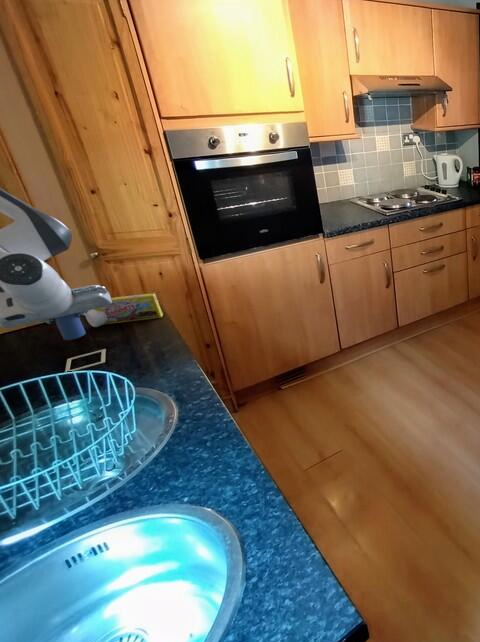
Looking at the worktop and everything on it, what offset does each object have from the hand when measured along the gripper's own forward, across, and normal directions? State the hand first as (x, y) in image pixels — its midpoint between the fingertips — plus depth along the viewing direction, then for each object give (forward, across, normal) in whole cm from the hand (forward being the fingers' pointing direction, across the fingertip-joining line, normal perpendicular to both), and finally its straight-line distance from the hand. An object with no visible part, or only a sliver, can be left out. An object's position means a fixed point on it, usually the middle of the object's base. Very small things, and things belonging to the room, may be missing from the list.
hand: (66, 316), depth 117 cm
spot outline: (+9, 0, +10) cm, 13 cm away
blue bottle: (+3, 0, +4) cm, 5 cm away
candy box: (+23, -10, -4) cm, 26 cm away
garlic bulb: (+25, -4, -6) cm, 26 cm away
